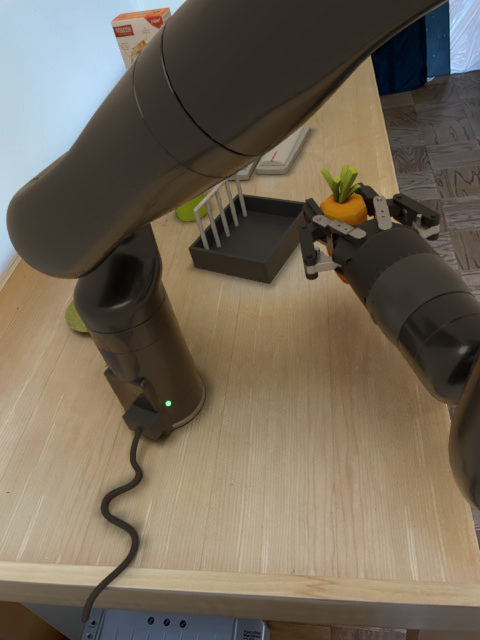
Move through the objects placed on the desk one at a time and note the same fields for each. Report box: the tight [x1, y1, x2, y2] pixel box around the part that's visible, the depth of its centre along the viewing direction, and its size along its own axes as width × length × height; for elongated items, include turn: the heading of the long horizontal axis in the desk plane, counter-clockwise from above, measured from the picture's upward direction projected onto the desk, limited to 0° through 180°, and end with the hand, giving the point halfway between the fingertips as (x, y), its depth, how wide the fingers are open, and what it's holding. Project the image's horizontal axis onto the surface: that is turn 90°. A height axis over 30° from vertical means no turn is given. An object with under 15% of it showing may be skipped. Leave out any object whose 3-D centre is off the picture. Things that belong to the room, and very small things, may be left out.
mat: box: [64, 300, 89, 333], centre depth 83 cm, size 11×11×2 cm
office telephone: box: [228, 125, 312, 181], centre depth 111 cm, size 23×3×20 cm
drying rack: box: [188, 172, 306, 285], centre depth 85 cm, size 16×14×10 cm
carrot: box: [319, 164, 368, 285], centre depth 57 cm, size 5×5×15 cm
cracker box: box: [110, 7, 172, 71], centre depth 136 cm, size 14×6×21 cm, turn 73°
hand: (333, 198), depth 57 cm, fingers closed on carrot, 5 cm apart
